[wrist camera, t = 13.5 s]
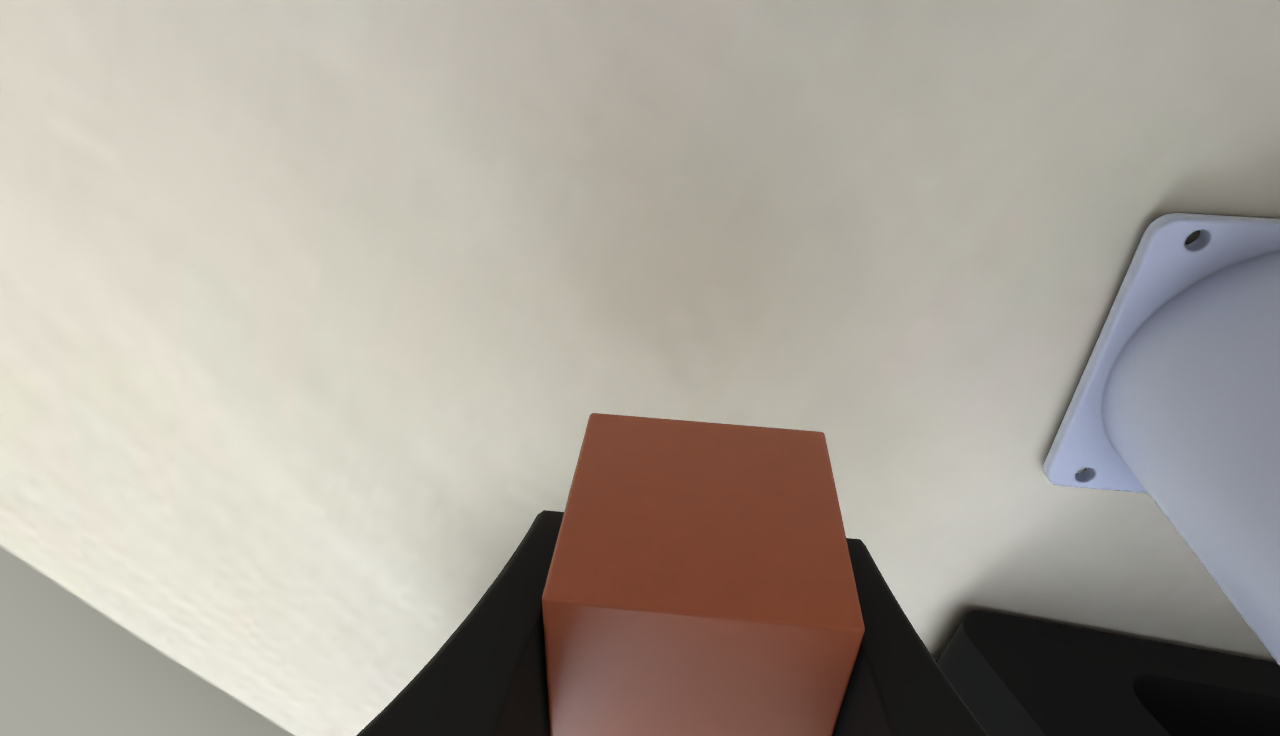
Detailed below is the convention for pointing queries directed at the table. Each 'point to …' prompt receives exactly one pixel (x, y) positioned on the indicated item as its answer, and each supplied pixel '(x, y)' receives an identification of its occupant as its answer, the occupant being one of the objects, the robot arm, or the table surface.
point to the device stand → (1103, 683)
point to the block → (699, 584)
